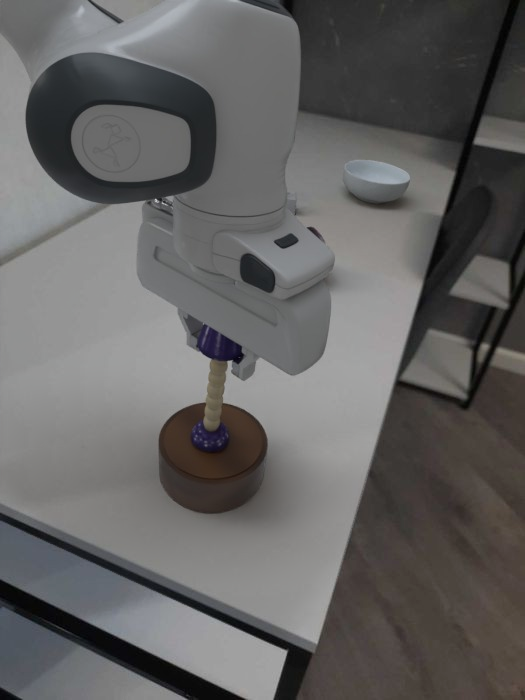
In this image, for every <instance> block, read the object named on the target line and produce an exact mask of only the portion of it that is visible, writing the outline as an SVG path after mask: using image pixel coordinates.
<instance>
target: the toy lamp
mask: <svg viewBox="0 0 525 700" xmlns="http://www.w3.org/2000/svg"><path fill="white" fill-rule="evenodd" d="M197 346H198V348H199V350H200V352H199V353H201V354H202V356H205V357H206V358H208V359H210V362H209V370H210V371H209V373H208V378H207V379H208V383H207V386H206V393H207V394H206V397H205V402H206V407H205V417H204V420H201V421H200V422H198V423H197V424H196V425H195V426H194V428H193V429H192V432H191V441H192V443H193V444H194V446H195V447H197V448H198V449H200V450H203V451H206V452H215V451H219V450H221V449H223V448H225V446H226V445H227V444H228V442H229V432H228V429H227V428H226V426H225V425H224V424H223V423H222V422H221V421H220V418H219V417H220V415H221V406H222V404H223V403H224V394H225V391H226V387H225V383H226V381H227V373H226V372H227V371H228V366H229V363H228V362H232V361H233V360H234V359H236V358H240V356H241V355H242V354H243V353H242V346H241V345H239V344H237V343H236V342H234V341H232V340H231V339H229V338H227V337H226V336H224V335H222V334H221V333H219V332H217V331H216V330H214V329H212V328H211V327H209V326H207V325H206V324H204V323H203V327H202V330H201V332H200V335H199V337H198V341H197Z"/></svg>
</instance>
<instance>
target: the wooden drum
mask: <svg viewBox="0 0 525 700" xmlns="http://www.w3.org/2000/svg"><path fill="white" fill-rule="evenodd" d="M205 407H206V401H205V402H198V403H194V404H191V405H188V406H185V407H183V408H181V409H179V410H178V411H176V412H175V413H173V414H172V415H171V416H170V417H169V418H167V420H166V421H165V422H164V424H163V425H162V427H161V429H160V430H159V431H160V432H159V434H158V441H157V442H158V443H157V444H158V447H157V448H158V474H159V475H158V476H159V480H160V484H161V486H162V488H163V490H164V491H165V493H166V494H167V495H168V496H169V497H170V499H172V500H173V501H174V502H175V503H177V504H178V505H180V506H181V507H183V508H186V509H189V511H190V510H191V511H194V512H198V513H202V514H203V513H204V514H219V513H220V514H221V513H225V512H230V511H232V510H236V509H238V508H239V507H241V506H243V505H245V504H247V503H248V502H249V501H250V500H251V499H252V498H253V497H254V496H255V495H256V494H257V492H258V491H259V489H260V487H261V485H262V482H263V478H264V472H265V468H266V467H265V466H266V460H267V454H268V453H267V452H268V446H269V443H268V436H267V433H266V431H265V429H264V427H263V425H262V423H261V422H260V421H259V420H258V419H257V418H256V417H255V416H254V415H253V414H252V413H250V412H249V411H247V410H246V409H244V408H241V407H239V406H237V405H234V404H232V403H227V402H223V404H222V406H221V415H220V417H219V418H220V421H221V422H222V423H223V424H224V425H225V426H226V428H227V429H228V432H229V442H228V444H227V445H226V446H225V448H223V449H221V450H219V451H215V452H206V451H203V450H200V449H198V448H197V447H195V446H194V444H193V443H192V441H191V432H192V429H193V428H194V426H195V425H196V424H197V423H198V422H200V421H201V420H204V417H205Z"/></svg>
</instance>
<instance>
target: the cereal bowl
mask: <svg viewBox="0 0 525 700" xmlns="http://www.w3.org/2000/svg"><path fill="white" fill-rule="evenodd" d="M342 181H343V184H344V187H345V188H346V189H347V190H348V191H349V192H350V193H351V194H353V195H354V196H355V197H356V198H357V199H358V200H360V201H362V202H365V203H370V204H383V203H386V202H392V201H396V200H398V199H399V198H401V197H402V196H403V195H404V194H405V193H406V191H407V190H408V188H409V185H410V182H411V175H410V174H409V173H408V172H407V171H406V170H404V169H402V168H400V167H398V166H396V165H393V164H390V163H387V162H383V161H378V160H372V159H353V160H350V161H347V162H346V163H345V164H344V166H343V171H342Z"/></svg>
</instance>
